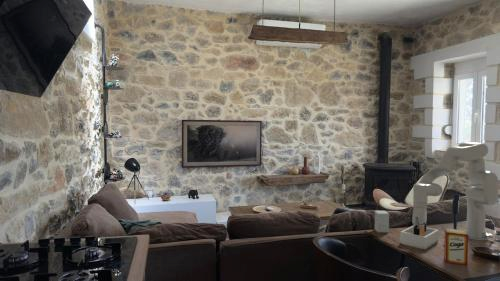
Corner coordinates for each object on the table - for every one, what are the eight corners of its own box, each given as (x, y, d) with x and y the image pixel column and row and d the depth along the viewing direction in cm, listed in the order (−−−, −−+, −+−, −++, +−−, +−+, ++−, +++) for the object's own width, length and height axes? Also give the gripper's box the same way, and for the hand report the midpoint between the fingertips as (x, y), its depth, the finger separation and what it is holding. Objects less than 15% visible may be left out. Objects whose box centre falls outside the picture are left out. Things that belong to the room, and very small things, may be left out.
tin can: (425, 240, 204) (425, 224, 203) (422, 242, 201) (422, 226, 200) (416, 238, 208) (417, 222, 207) (413, 240, 204) (413, 224, 204)
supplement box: (385, 229, 230) (386, 210, 229) (389, 232, 222) (389, 213, 222) (374, 229, 231) (374, 210, 230) (377, 232, 223) (377, 213, 223)
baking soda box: (465, 260, 177) (465, 230, 176) (467, 265, 171) (468, 233, 170) (444, 257, 180) (444, 228, 180) (445, 262, 174) (446, 231, 174)
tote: (414, 236, 216) (414, 225, 216) (438, 241, 206) (438, 230, 205) (400, 243, 202) (400, 231, 202) (425, 249, 192) (425, 237, 192)
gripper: (419, 201, 212) (419, 228, 212) (407, 205, 200) (407, 234, 201) (432, 203, 206) (432, 231, 207) (421, 208, 194) (420, 237, 195)
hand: (419, 232), depth 204 cm, fingers open, 9 cm apart
